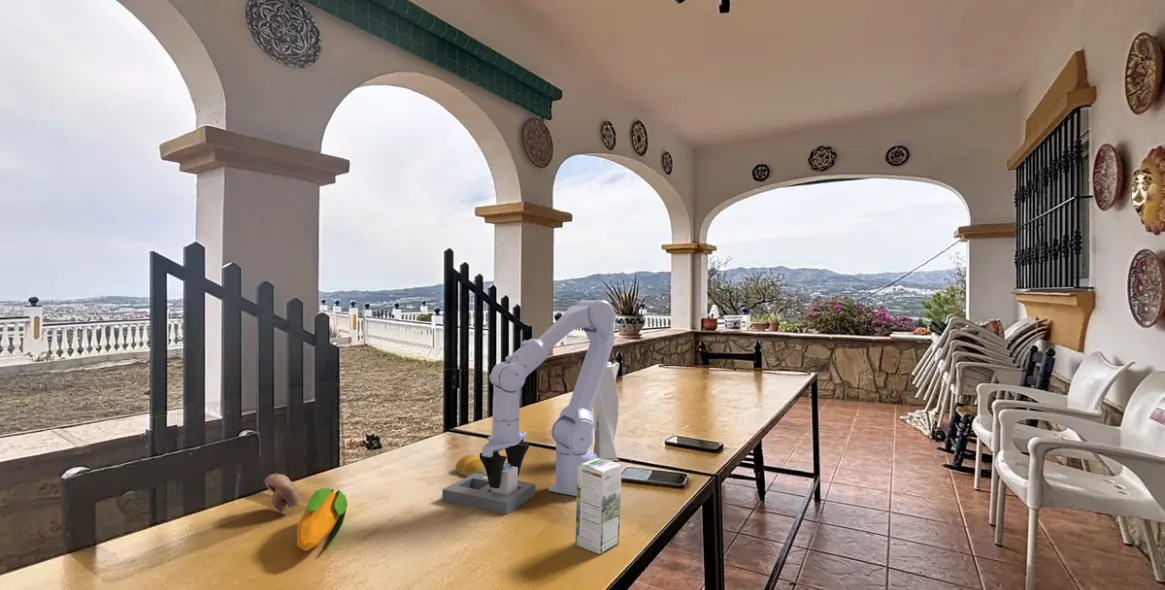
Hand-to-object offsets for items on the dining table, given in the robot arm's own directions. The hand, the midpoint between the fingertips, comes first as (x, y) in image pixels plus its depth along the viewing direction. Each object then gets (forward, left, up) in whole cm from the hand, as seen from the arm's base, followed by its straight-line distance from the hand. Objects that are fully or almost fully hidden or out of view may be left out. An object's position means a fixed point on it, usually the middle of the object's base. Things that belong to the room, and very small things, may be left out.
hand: (504, 481), depth 113 cm
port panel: (+4, 0, -4) cm, 6 cm away
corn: (+20, +30, -4) cm, 36 cm away
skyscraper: (-8, -39, -4) cm, 40 cm away
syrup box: (-26, +10, -4) cm, 28 cm away
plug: (0, 0, -4) cm, 4 cm away
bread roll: (+17, -13, -5) cm, 22 cm away
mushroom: (+36, +25, -4) cm, 44 cm away
